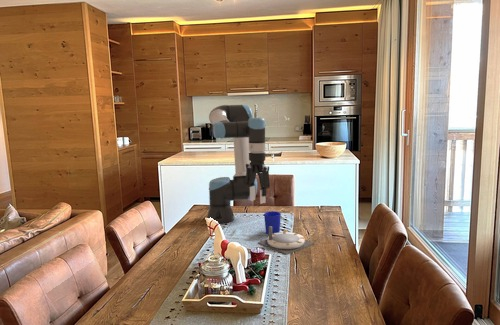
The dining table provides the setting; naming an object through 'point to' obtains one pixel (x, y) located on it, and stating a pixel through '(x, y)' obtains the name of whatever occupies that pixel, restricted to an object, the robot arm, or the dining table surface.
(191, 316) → the dining table surface
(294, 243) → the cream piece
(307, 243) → the bearing plate
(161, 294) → the dining table surface
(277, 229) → the mug
